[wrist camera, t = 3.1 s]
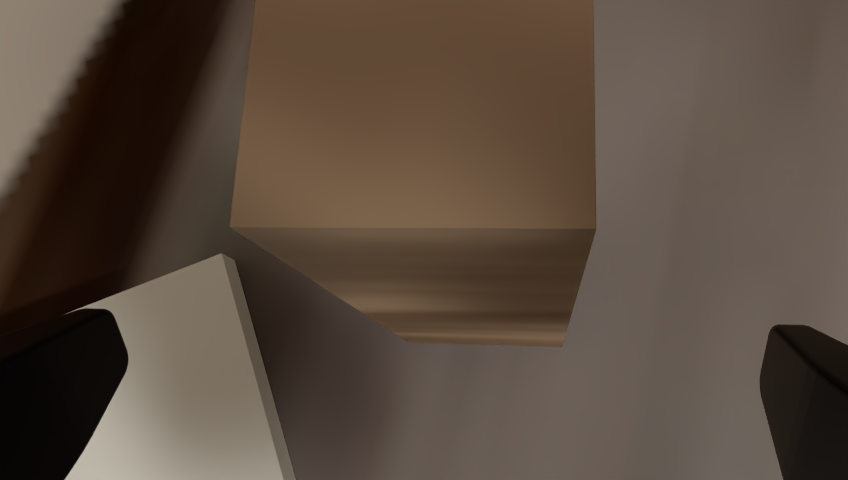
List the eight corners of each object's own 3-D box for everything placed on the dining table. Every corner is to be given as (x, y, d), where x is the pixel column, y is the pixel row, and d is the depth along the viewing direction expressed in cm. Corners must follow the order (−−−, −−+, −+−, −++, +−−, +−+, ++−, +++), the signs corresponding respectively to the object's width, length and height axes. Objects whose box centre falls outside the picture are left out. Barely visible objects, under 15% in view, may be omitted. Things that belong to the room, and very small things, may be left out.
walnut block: (561, 346, 21) (596, 228, 8) (408, 342, 22) (229, 227, 9) (561, 197, 22) (592, -103, 9) (415, 197, 23) (264, -82, 10)
